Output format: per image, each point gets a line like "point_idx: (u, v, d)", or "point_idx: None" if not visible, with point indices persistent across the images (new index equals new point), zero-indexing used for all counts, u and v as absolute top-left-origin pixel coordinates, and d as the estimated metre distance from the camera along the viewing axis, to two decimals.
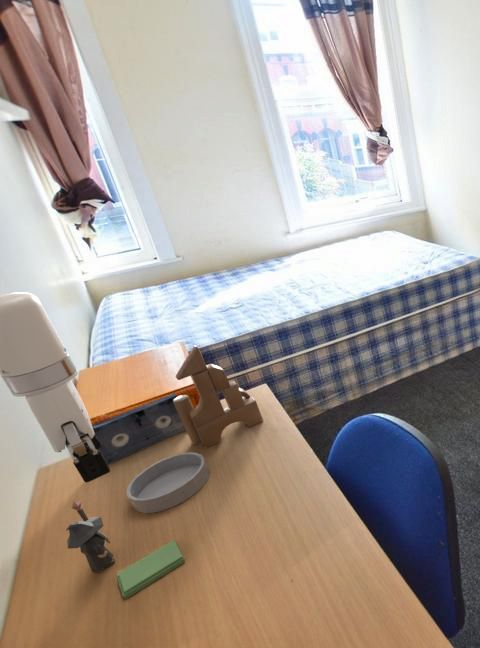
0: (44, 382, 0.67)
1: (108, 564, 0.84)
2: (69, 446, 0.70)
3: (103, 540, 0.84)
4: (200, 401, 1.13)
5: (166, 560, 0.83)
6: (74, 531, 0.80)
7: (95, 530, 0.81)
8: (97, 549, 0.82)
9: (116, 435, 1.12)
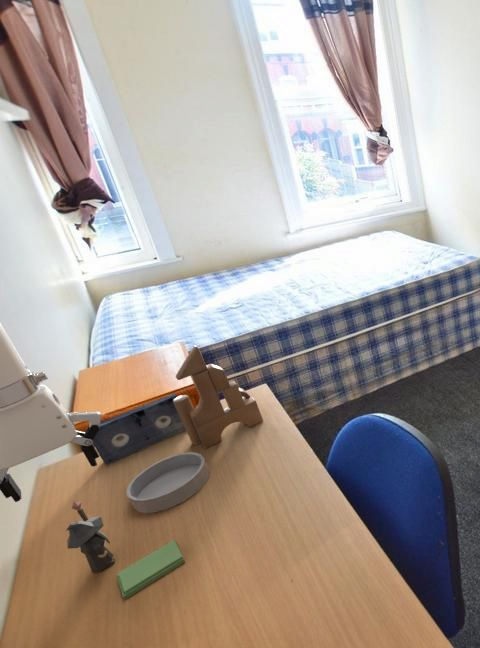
0: None
1: (108, 564, 0.84)
2: None
3: (103, 540, 0.84)
4: (200, 401, 1.13)
5: (166, 560, 0.83)
6: (74, 531, 0.80)
7: (95, 530, 0.81)
8: (97, 549, 0.82)
9: (116, 435, 1.12)
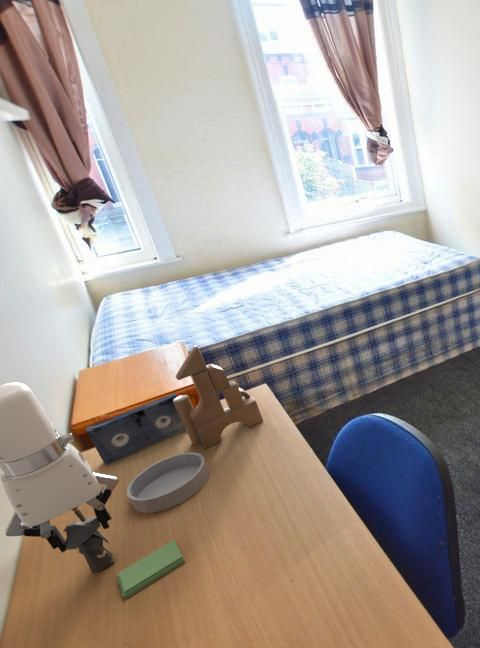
0: (2, 469, 0.73)
1: (108, 564, 0.84)
2: None
3: (101, 540, 0.84)
4: (200, 401, 1.13)
5: (166, 560, 0.83)
6: (71, 532, 0.80)
7: (92, 531, 0.81)
8: (95, 549, 0.82)
9: (116, 435, 1.12)
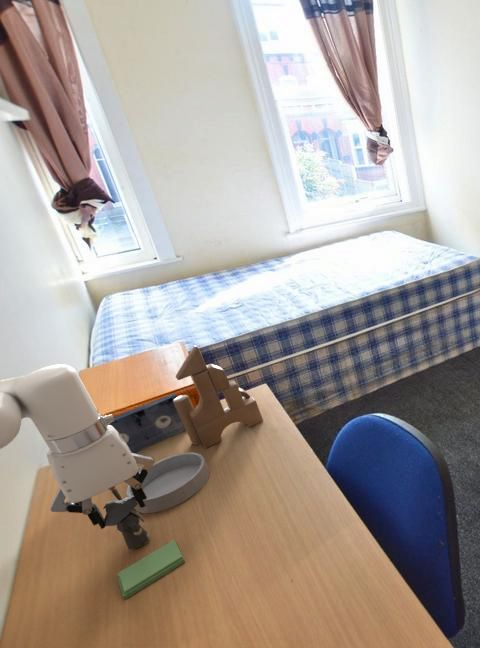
0: None
1: (143, 541, 0.88)
2: None
3: (138, 518, 0.87)
4: (200, 401, 1.13)
5: (166, 560, 0.83)
6: (111, 509, 0.83)
7: (130, 508, 0.85)
8: (133, 527, 0.85)
9: None
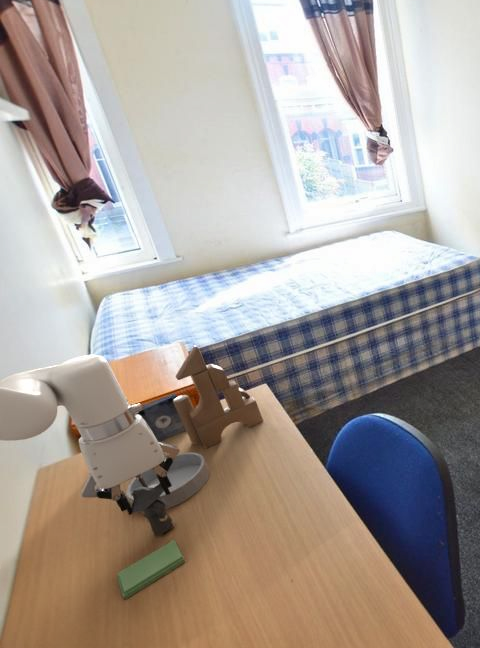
0: (81, 434, 0.80)
1: (168, 528, 0.90)
2: None
3: (163, 505, 0.90)
4: (200, 401, 1.13)
5: (166, 560, 0.83)
6: (138, 496, 0.86)
7: (157, 495, 0.87)
8: (159, 513, 0.88)
9: None
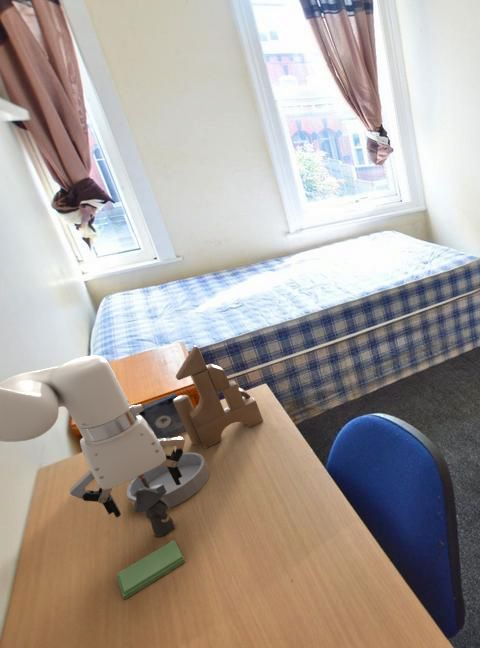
0: (82, 435, 0.80)
1: (169, 529, 0.91)
2: None
3: (165, 506, 0.90)
4: (200, 401, 1.13)
5: (166, 560, 0.83)
6: (141, 496, 0.86)
7: (160, 496, 0.88)
8: (161, 514, 0.88)
9: None
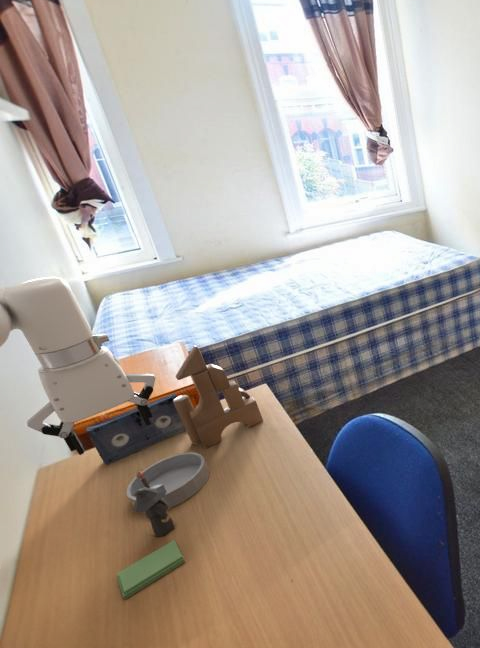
0: (40, 362, 0.74)
1: (169, 529, 0.91)
2: None
3: (165, 506, 0.90)
4: (200, 401, 1.13)
5: (166, 560, 0.83)
6: (141, 496, 0.86)
7: (160, 496, 0.88)
8: (161, 514, 0.88)
9: (116, 435, 1.12)
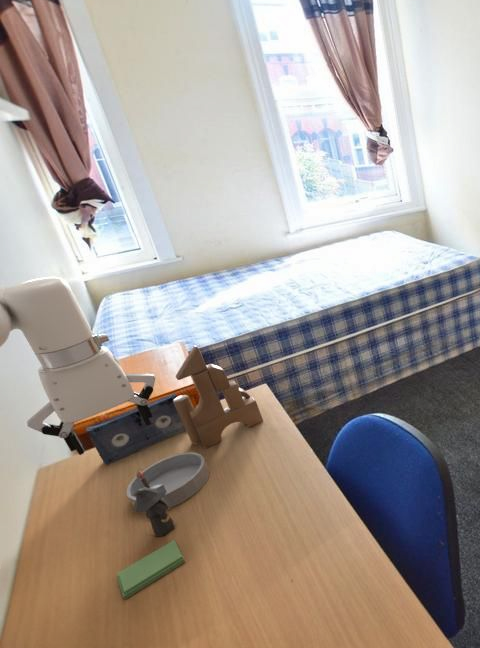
0: (40, 362, 0.74)
1: (169, 529, 0.91)
2: None
3: (165, 506, 0.90)
4: (200, 401, 1.13)
5: (166, 560, 0.83)
6: (141, 496, 0.86)
7: (160, 496, 0.88)
8: (161, 514, 0.88)
9: (116, 435, 1.12)
